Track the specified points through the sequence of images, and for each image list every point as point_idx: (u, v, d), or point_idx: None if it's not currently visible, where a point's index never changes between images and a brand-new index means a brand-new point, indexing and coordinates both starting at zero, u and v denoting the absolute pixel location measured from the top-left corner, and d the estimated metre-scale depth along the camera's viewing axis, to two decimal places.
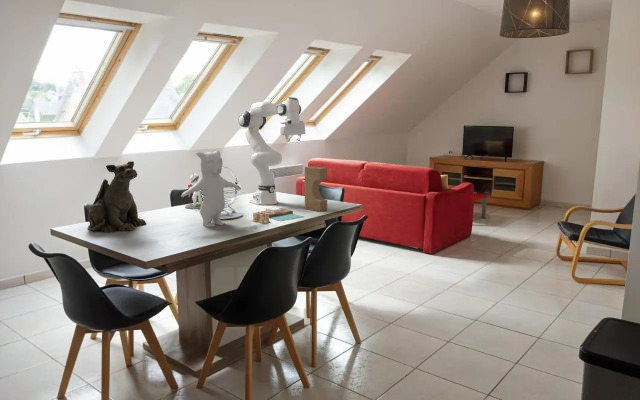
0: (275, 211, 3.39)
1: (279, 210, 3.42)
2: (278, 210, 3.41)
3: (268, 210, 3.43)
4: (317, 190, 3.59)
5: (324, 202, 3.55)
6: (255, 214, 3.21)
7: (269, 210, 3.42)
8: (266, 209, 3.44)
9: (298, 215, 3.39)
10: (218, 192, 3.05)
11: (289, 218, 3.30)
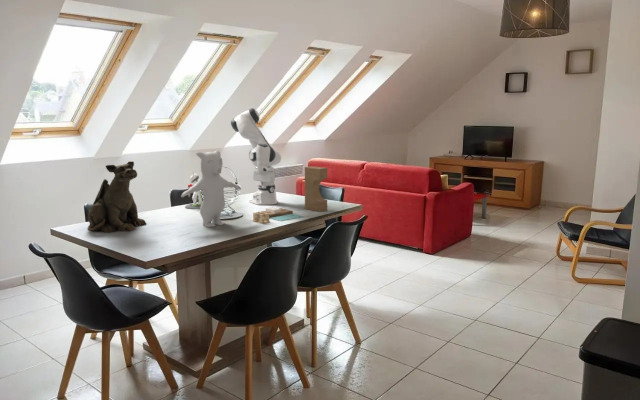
0: (275, 211, 3.39)
1: (279, 210, 3.42)
2: (278, 210, 3.41)
3: (268, 210, 3.43)
4: (317, 190, 3.59)
5: (324, 202, 3.55)
6: (255, 214, 3.21)
7: (269, 210, 3.42)
8: (266, 209, 3.44)
9: (298, 215, 3.39)
10: (218, 192, 3.05)
11: (289, 218, 3.30)
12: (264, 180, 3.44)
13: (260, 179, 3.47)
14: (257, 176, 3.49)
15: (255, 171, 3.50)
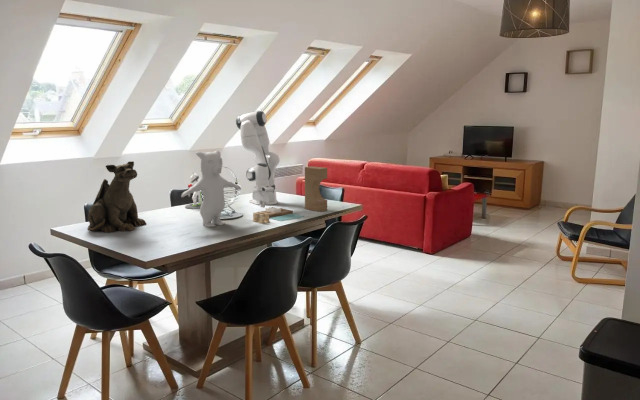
0: (275, 211, 3.39)
1: (279, 210, 3.42)
2: (278, 210, 3.41)
3: (268, 210, 3.43)
4: (317, 190, 3.59)
5: (324, 202, 3.55)
6: (255, 214, 3.21)
7: (269, 210, 3.42)
8: (266, 209, 3.44)
9: (298, 215, 3.39)
10: (218, 192, 3.05)
11: (289, 218, 3.30)
12: (263, 199, 3.46)
13: (259, 198, 3.49)
14: (256, 195, 3.51)
15: (254, 190, 3.52)
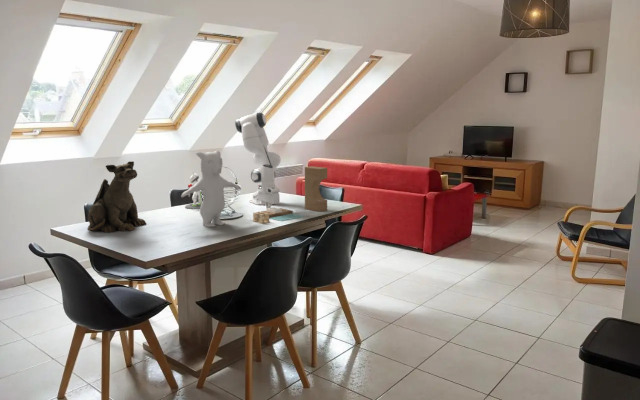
0: (276, 211, 3.39)
1: (280, 210, 3.41)
2: (279, 210, 3.40)
3: (269, 210, 3.42)
4: (317, 190, 3.59)
5: (324, 202, 3.55)
6: (255, 214, 3.21)
7: (270, 210, 3.41)
8: (267, 209, 3.43)
9: (298, 215, 3.39)
10: (218, 192, 3.05)
11: (289, 218, 3.30)
12: (269, 201, 3.42)
13: (265, 200, 3.46)
14: (262, 196, 3.48)
15: (260, 191, 3.49)
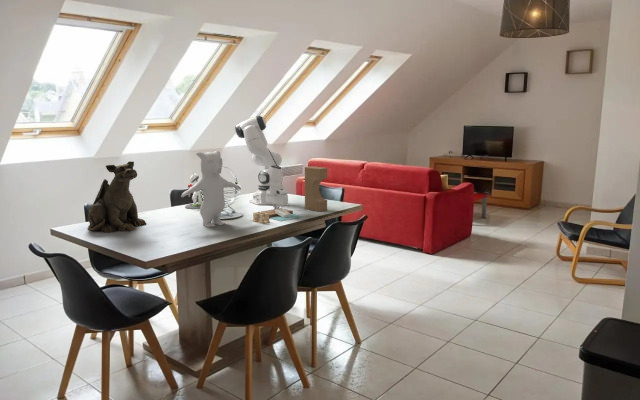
0: (285, 216, 3.33)
1: (289, 215, 3.35)
2: (288, 215, 3.34)
3: (277, 213, 3.36)
4: (317, 190, 3.59)
5: (324, 202, 3.55)
6: (255, 214, 3.21)
7: (278, 213, 3.35)
8: (275, 211, 3.37)
9: (298, 215, 3.39)
10: (218, 192, 3.05)
11: (289, 218, 3.30)
12: (277, 203, 3.36)
13: (273, 201, 3.39)
14: (270, 198, 3.41)
15: (268, 193, 3.42)
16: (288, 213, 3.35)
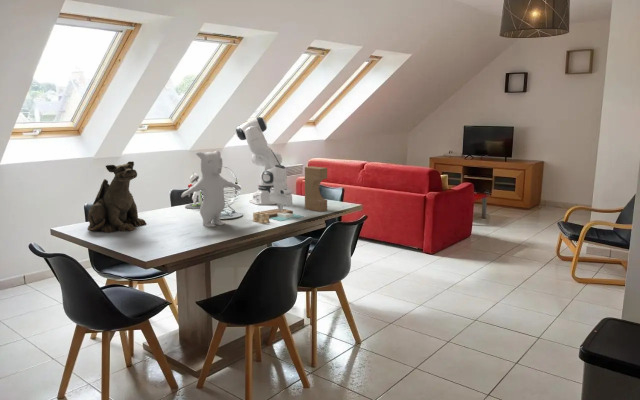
0: (287, 216, 3.31)
1: (291, 215, 3.33)
2: (290, 215, 3.33)
3: (280, 215, 3.34)
4: (317, 190, 3.59)
5: (324, 202, 3.55)
6: (255, 214, 3.21)
7: (281, 215, 3.33)
8: (278, 214, 3.36)
9: (298, 215, 3.39)
10: (218, 192, 3.05)
11: (289, 218, 3.30)
12: (281, 202, 3.33)
13: (277, 201, 3.36)
14: (274, 198, 3.38)
15: (271, 193, 3.39)
16: (290, 214, 3.34)
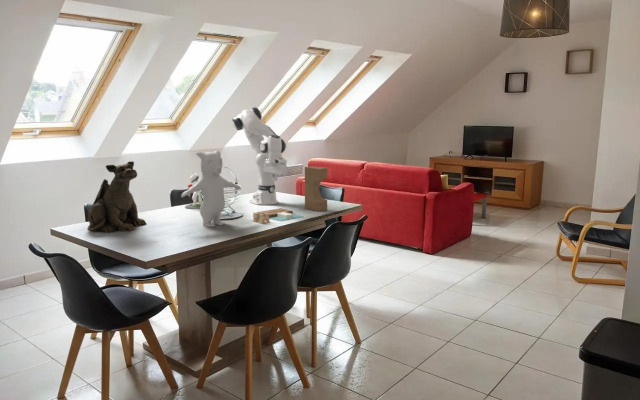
0: (287, 216, 3.31)
1: (291, 215, 3.33)
2: (290, 215, 3.33)
3: (280, 215, 3.34)
4: (317, 190, 3.59)
5: (324, 202, 3.55)
6: (255, 214, 3.21)
7: (281, 215, 3.33)
8: (278, 214, 3.36)
9: (298, 215, 3.39)
10: (218, 192, 3.05)
11: (289, 218, 3.30)
12: (276, 172, 3.35)
13: (271, 171, 3.38)
14: (268, 168, 3.40)
15: (266, 163, 3.41)
16: (290, 214, 3.34)
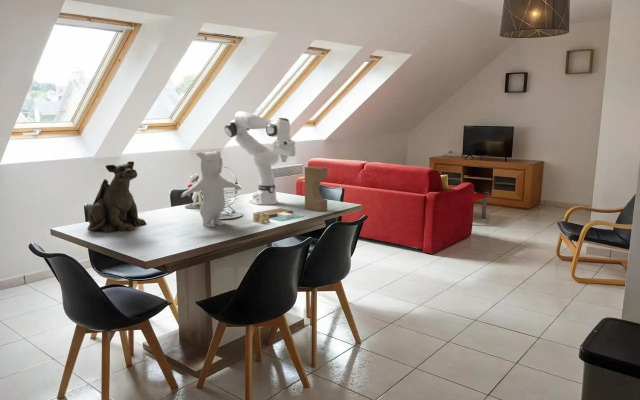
0: (287, 216, 3.31)
1: (291, 215, 3.33)
2: (290, 215, 3.33)
3: (280, 215, 3.34)
4: (317, 190, 3.59)
5: (324, 202, 3.55)
6: (255, 214, 3.21)
7: (281, 215, 3.33)
8: (278, 214, 3.36)
9: (298, 215, 3.39)
10: (218, 192, 3.05)
11: (289, 218, 3.30)
12: (284, 154, 3.47)
13: (280, 153, 3.50)
14: (277, 150, 3.52)
15: (275, 145, 3.53)
16: (290, 214, 3.34)
